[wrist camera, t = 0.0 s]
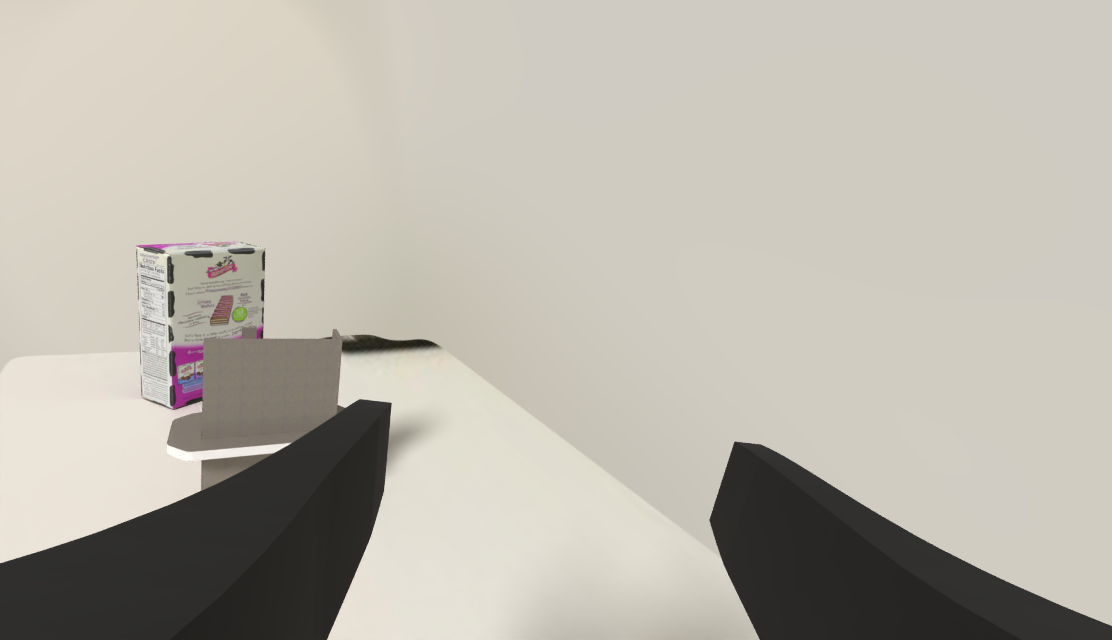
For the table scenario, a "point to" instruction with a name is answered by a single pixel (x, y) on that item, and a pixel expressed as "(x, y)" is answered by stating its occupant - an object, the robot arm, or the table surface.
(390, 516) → the table surface
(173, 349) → the candy bar box
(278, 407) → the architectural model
